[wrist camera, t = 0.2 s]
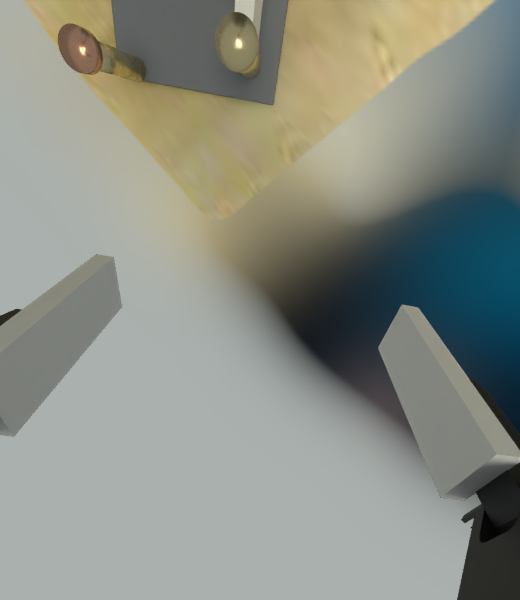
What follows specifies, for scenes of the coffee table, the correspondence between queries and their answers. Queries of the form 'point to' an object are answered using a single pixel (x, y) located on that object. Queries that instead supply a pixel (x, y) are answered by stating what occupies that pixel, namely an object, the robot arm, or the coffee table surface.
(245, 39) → the hinge post
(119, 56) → the brass capped rod
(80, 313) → the robot arm
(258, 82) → the mat
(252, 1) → the beige piece
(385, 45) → the coffee table surface
